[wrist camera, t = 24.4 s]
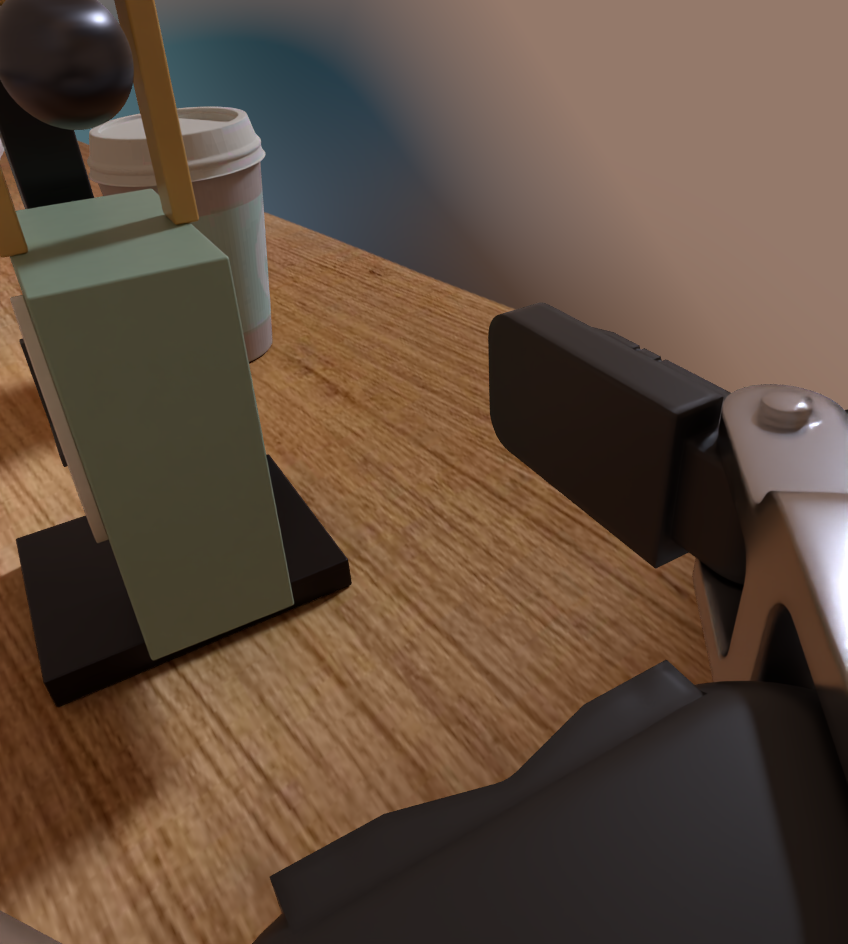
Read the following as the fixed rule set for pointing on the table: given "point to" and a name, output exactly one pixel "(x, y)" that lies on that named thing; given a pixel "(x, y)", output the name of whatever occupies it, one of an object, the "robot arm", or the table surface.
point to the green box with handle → (152, 382)
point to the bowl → (1, 148)
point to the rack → (65, 180)
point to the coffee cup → (205, 195)
